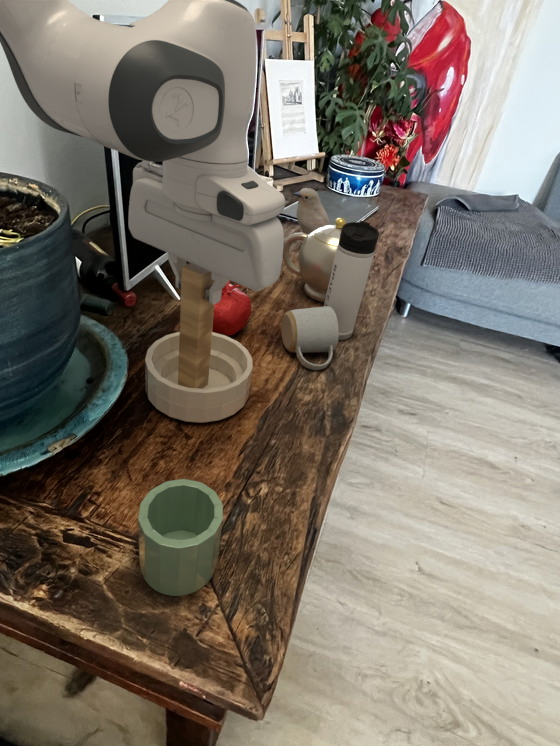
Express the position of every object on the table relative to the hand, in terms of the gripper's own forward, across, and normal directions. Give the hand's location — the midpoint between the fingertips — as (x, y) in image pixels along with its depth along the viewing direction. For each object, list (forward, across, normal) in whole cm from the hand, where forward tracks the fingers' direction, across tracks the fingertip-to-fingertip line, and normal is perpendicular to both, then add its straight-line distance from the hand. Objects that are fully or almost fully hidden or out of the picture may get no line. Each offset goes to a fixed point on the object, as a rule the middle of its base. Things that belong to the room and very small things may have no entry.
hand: (198, 295), depth 61 cm
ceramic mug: (+17, +7, +22) cm, 29 cm away
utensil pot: (+17, +16, -20) cm, 31 cm away
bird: (+17, -15, +62) cm, 66 cm away
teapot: (+17, -3, +44) cm, 47 cm away
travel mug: (+17, +7, +32) cm, 37 cm away
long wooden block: (+14, 0, 0) cm, 14 cm away
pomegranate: (+17, -9, +18) cm, 27 cm away
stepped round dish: (+17, 0, +2) cm, 17 cm away
